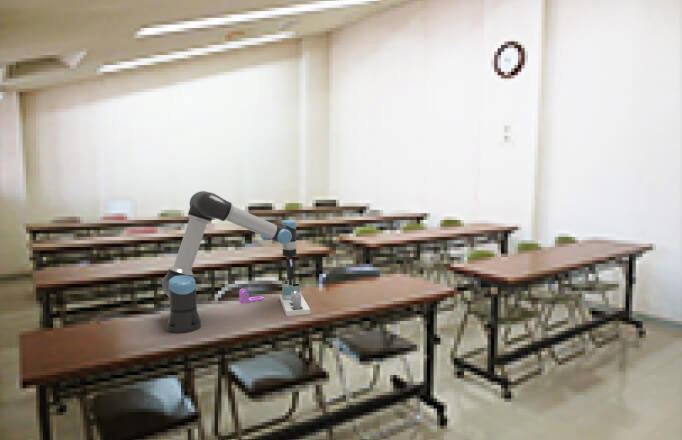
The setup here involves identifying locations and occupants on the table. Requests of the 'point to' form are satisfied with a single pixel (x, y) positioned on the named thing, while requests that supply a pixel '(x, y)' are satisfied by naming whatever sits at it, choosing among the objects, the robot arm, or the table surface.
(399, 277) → the table surface
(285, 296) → the lid
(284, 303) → the housing
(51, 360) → the table surface
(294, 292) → the jaw pin
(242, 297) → the bracket
